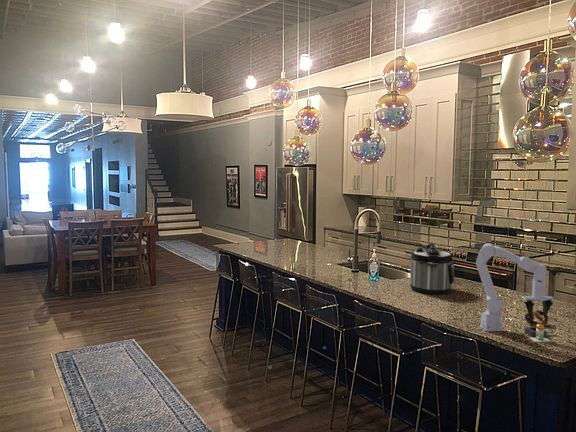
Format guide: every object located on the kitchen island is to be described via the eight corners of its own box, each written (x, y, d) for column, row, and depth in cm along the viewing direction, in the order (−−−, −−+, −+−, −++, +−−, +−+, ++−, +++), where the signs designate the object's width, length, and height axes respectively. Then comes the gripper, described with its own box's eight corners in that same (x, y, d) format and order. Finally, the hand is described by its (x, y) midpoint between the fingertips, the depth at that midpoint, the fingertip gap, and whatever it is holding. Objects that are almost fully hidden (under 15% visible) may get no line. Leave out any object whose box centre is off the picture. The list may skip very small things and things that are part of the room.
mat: (534, 342, 227) (534, 341, 227) (528, 338, 232) (528, 337, 232) (550, 341, 228) (551, 341, 228) (544, 338, 233) (544, 337, 233)
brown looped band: (535, 320, 261) (544, 309, 257) (544, 333, 253) (554, 322, 249) (517, 316, 258) (525, 305, 254) (526, 329, 250) (535, 318, 246)
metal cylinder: (534, 338, 232) (534, 324, 231) (540, 337, 232) (541, 323, 231) (538, 340, 229) (539, 326, 228) (544, 340, 229) (545, 326, 228)
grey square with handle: (532, 337, 234) (532, 331, 233) (524, 332, 240) (524, 327, 240) (557, 337, 235) (558, 331, 234) (549, 332, 242) (549, 326, 241)
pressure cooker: (438, 298, 305) (440, 248, 302) (400, 289, 325) (401, 243, 322) (461, 289, 326) (462, 243, 322) (423, 282, 346) (425, 239, 343)
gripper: (529, 290, 231) (528, 318, 232) (558, 290, 232) (556, 317, 233) (521, 287, 238) (520, 313, 239) (549, 286, 239) (547, 313, 240)
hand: (537, 315), depth 237 cm, fingers open, 7 cm apart
